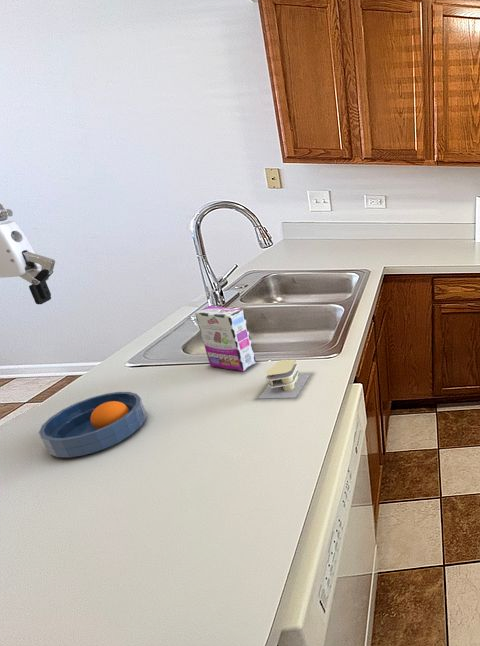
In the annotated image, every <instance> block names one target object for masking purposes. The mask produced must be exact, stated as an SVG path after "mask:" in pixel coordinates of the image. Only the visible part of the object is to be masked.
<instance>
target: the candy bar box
mask: <svg viewBox="0 0 480 646" xmlns="http://www.w3.org/2000/svg"><path fill="white" fill-rule="evenodd" d="M194 315H195V318H196V321H197V325H198V328H199V333H200V335H201V340H202V342H203V345H204V349H205V353H206V356H207V359H208V360H207V361H208V362H209V366H210V367H211V368H216V369H224V370H231V371H237V372H245V371H247V370H248V369H250V368H251V367H253V366H255V365H256V364H257V360H256V356H255V353H254V348H253V344H252V339H251V336H250V331H249V326H248V324H247V319H246V314H245V310H244V309H242V308H232V307H222V306H214V305H213V306H212V305H208V306H206V307H204V308H202V309H200V310H198V311H195V312H194Z"/></svg>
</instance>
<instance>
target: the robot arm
mask: <svg viewBox="0 0 480 646" xmlns="http://www.w3.org/2000/svg"><path fill="white" fill-rule="evenodd" d="M8 217H13V211H12V209H10V208H5V207H4V206H3V204H2V202H0V279H3V278H14V277H15V278H17V277H20V278H21V279H23V280H24V281H26V282H28V283H30V285H29V286H28V289H29V291H30V293H31V296H32V298H33V300H34V303H35V304H36V305H43V304H45V303H47V302H48V301H50V300H52V293H51V291H50V289H49V286H48V283H47V281H48V280H49V278H50V277H51V276H52V274H53V273H54V268H55V264H56V260H55V259H53V258H51V257H47V256H44V255H41V254H37V253H35V251H34V249H33V247H32V245H31V244H30V241H29V239H28V238H27V236H26V235H25V233H24V232H23V230H22V229H21V227H20V226H19V225H18V224H17V223H16V222H15V220H9V219H8ZM40 267H41V269H40V270H38V269H39V268H40Z"/></svg>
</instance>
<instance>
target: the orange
mask: <svg viewBox="0 0 480 646" xmlns="http://www.w3.org/2000/svg"><path fill="white" fill-rule="evenodd" d="M127 413H129V409H128V407H127V406H126V405H125V404H123V403H121V402H117V401H110V402H106V403H103V404H101V405H99V406H98V407H97V408H95V409H94V411H93V412H92V414H91V418H90V420H91V424H92V425H93V426H94V427H95V428H96V429H100V428H103V427H105V426H108V425H110V424H112V423H113V422H115V421H117V420H119V419H121V418H122V417H123V416H125V415H126V414H127Z"/></svg>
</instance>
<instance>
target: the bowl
mask: <svg viewBox="0 0 480 646" xmlns="http://www.w3.org/2000/svg"><path fill="white" fill-rule="evenodd" d="M110 401H117V402H121V403H123V404H125V405H126V406H127V407H128V409H129V413H127V414H126V415H125V416H123V417H122V418H121V419H119V420H117V421H115V422H113V423H112V424H110V425H108V426H105V427H103V428H100V429H96V428H95V427H94V426H93V425H92V424H91V420H90V418H91V414H92V412H93V411H94V409H95V408H97V407H98V406H99V405H101V404H103V403H106V402H110ZM146 420H147V411H146V409H145V406H144V403H143V401H142V398H141V397H140V396H139V395H138V394H137V393H136V392H133V391H132V392H131V391H115V392H107V393H103V394H99V395H96V396H92V397H91V396H90V397H89V398H85V399H84V400H80V401H78V402H75V403H73V404H71V405H69V406H67V407H65V408H62V409H61V410H60V411H58V412H57V413H55V414H53V415H52V416H50V417H49V418H48V419H47V420H46V421H45V422H44V423H43V424H42V425H41V427H40V429H39V431H38V434H39V436H40V438H41V440H42V442H43V445H44V446H45V448H46V451H48V453H49V455H51V456H53V457H56V458H75V457H80V456H88V455H91V454H94V453H97V452H100V451H103V450H106V449H108V448H110V447H112V446H114V445H116V444H118V443H120V442H122V441H123V440H126V439H127V438H128V437H129V436H131V435H132V434H133V433H135V432H136V431H137V430H138V429H140V428H141V427H142V425H143V424H144V423H145V421H146Z"/></svg>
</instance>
